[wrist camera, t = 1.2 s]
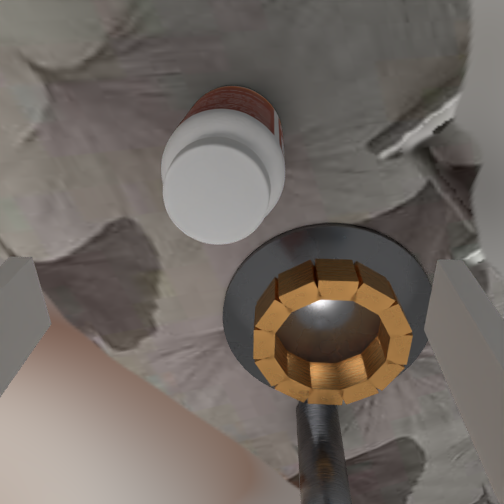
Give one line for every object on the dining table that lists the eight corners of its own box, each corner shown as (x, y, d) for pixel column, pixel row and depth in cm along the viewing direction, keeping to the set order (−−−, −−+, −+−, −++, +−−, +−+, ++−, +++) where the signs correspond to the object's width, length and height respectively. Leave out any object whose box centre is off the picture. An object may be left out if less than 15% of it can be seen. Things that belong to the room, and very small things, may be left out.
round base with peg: (221, 220, 33) (188, 350, 20) (452, 226, 32) (563, 364, 20) (226, 421, 42) (205, 595, 29) (405, 429, 41) (461, 610, 29)
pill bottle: (167, 118, 30) (113, 174, 20) (248, 63, 28) (234, 94, 18) (222, 197, 32) (198, 281, 22) (300, 150, 30) (312, 219, 20)
